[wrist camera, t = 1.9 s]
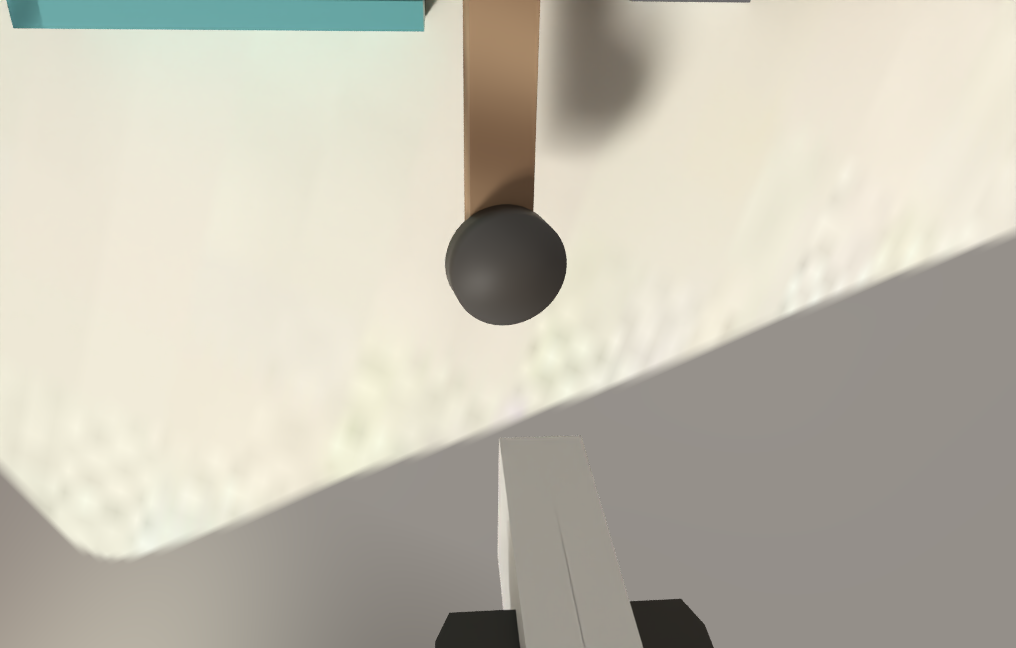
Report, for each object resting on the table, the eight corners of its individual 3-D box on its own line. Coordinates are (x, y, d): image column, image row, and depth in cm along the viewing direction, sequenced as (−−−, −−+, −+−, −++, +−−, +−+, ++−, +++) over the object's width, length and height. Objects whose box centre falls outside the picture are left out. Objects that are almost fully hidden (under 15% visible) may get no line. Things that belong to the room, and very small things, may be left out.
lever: (416, -343, 19) (449, -394, 16) (972, -282, 24) (1082, -313, 20) (433, 293, 27) (459, 342, 24) (852, 248, 31) (918, 284, 28)
